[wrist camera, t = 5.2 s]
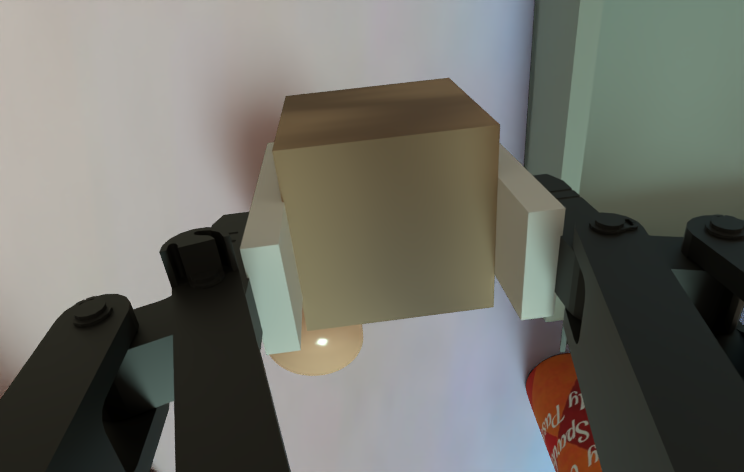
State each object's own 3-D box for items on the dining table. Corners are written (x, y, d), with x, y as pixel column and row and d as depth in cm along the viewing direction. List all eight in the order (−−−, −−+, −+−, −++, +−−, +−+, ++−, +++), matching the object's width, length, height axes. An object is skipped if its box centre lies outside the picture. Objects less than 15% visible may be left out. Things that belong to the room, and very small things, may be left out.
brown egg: (283, 302, 33) (274, 381, 27) (269, 236, 30) (255, 306, 24) (359, 292, 33) (367, 369, 27) (351, 226, 30) (357, 294, 24)
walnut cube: (310, 239, 18) (307, 331, 13) (285, 96, 15) (271, 151, 11) (450, 221, 18) (493, 307, 13) (448, 77, 15) (500, 124, 11)
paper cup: (542, 331, 36) (654, 524, 24) (629, 354, 38) (775, 543, 26) (493, 406, 39) (569, 608, 27) (575, 423, 41) (680, 620, 29)
